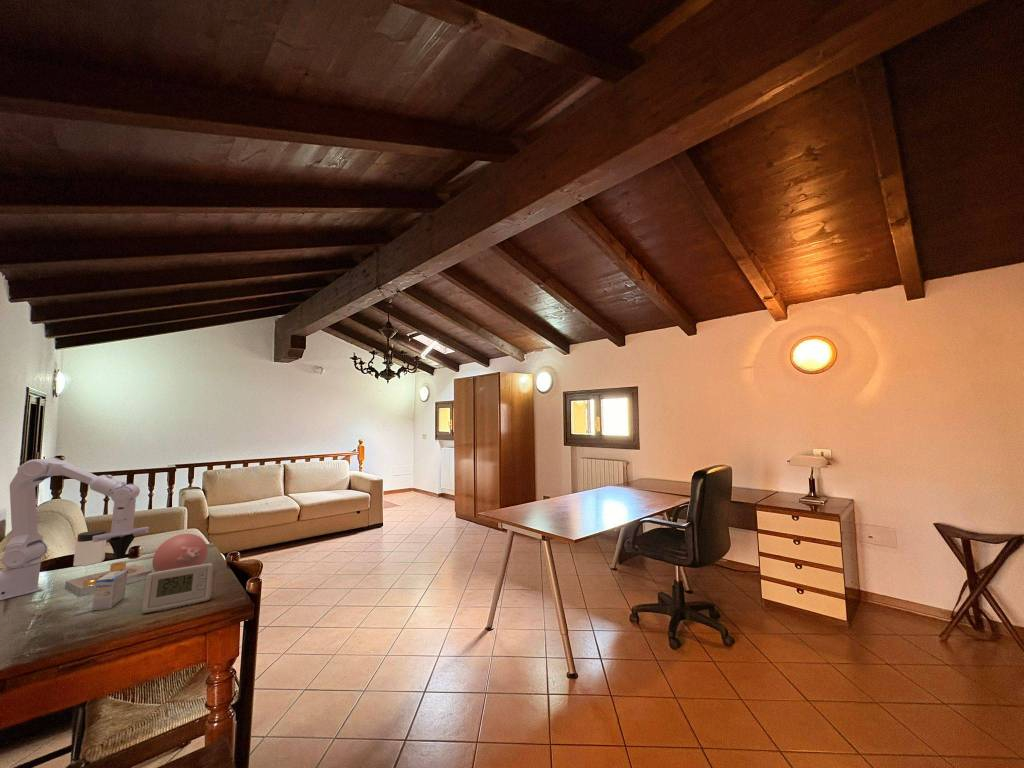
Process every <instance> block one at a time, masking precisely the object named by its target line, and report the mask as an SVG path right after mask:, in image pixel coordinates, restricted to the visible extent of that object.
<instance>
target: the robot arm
mask: <svg viewBox="0 0 1024 768" xmlns="http://www.w3.org/2000/svg"><path fill="white" fill-rule="evenodd" d="M16 470H17V472H16V474H14V475H15V476H14V477H13V479H12V480H11V482H10V483H9V500H10V501H9V503H10V521H11V523H10V524H11V539H10V540H9V542H8V543H7V544H6V545H5V547H4V548H5V551H4V553H3V555H2V557H1V563H2V565H3V566H5V568H2V569H0V601H2V600H3V601H4V600H7V599H10V598H11V599H12V598H14V597H20V596H23V595H28V594H31V593H36V592H39V591H43V588H42V587H40V586H39V579H40V578H39V577H40V571H41V564H42V563H41V562H42V557H43V556H45V554H46V553H47V551H48V545H47V543H46V542H45V541H44V536H43V535H42V534H40V533H39V532H38V531H39V530H38V516H37V515H38V514H37V496H36V495H37V493H36V487H37V486H39V484H41V483H42V482H44V481H45V480H47V479H49V478H51V477H53V476H55V477H56V476H65V477H68V479H69V478H70V479H72V480H76V481H77V482H81V483H84V484H87V485H89V489H90V490H91V491H94V492H96V493H99V494H101V495H103V496H106V497H108V498H110V500H111V501H112V502H113V507H112V516H111V517H112V518H111V519H112V520H111V527H110V528H111V529H110V532H106V533H105V534H101V535H96V536H93V540H92V542H99V541H103V540H106V541H107V542H108V543H109V545H110V546H111V549H112V553H113V556H114V560H118V559H119V560H120V559H123V558H125V556H126V553H127V551H128V548H129V547H130V545H131V544H132V542H133V541H134V539H135V538H136V537H135V535H140V534H149V529H150V527H149V526H143V527H135V528H134V522H135V514H136V513H135V512H136V502H137V501H136V500H137V497H138V496H139V495H140V492H141V491H140V488H139V486H137V485H136V484H135V483H128V482H126V481H125V480H123V481H121V480H118V479H116V478H114V476H113V475H112V474H102V475H96V474H94V473H91V472H89V471H87V470H85V469H83V468H81V467H78V466H76V465H75V464H72V463H70V462H69V461H67V460H61V459H60V458H58V457H47V458H40V459H35V458H34V459H29V460H27V461H25V462H24V463H23V464H21V465H19V466H17V468H16ZM127 483H128V484H127Z"/></svg>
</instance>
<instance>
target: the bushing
mask: <svg viewBox="0 0 1024 768" xmlns="http://www.w3.org/2000/svg"><path fill="white" fill-rule="evenodd" d="M109 566H110V568H109V571H110V572H116V571H125V570H126V567H127V561H118V562H114V563H110V565H109Z"/></svg>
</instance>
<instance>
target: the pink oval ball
mask: <svg viewBox="0 0 1024 768" xmlns="http://www.w3.org/2000/svg"><path fill="white" fill-rule="evenodd" d="M208 553H209V548H208V545H207V542H206V541H205V540H204V538H202V537H201V536H199V535H197V534H194V533H183V534H182V533H181V534H177V535H174V536H172V537H169V538H168V539H166V540H165V541H164V542H163V543H161V544H160V545H159V546H158V548H157V549H156V550H155V552H154V554H153V556H152V562H151V563H152V568H153V570H154V571H153V572H158V571H164V570H168V569H174V568H180V567H187V566H193V565H202V564H205V562H206V560H207V558H208Z"/></svg>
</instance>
